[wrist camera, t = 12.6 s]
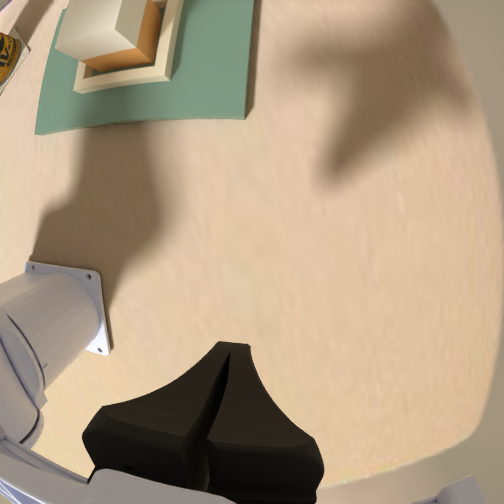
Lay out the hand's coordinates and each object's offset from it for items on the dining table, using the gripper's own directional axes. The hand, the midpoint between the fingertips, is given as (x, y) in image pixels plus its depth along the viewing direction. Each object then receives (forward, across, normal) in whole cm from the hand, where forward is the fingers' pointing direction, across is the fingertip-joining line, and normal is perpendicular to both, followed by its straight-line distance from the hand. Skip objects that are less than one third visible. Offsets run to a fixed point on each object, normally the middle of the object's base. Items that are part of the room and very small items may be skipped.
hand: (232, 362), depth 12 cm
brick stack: (+8, +10, -18) cm, 22 cm away
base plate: (+9, +10, -18) cm, 23 cm away
